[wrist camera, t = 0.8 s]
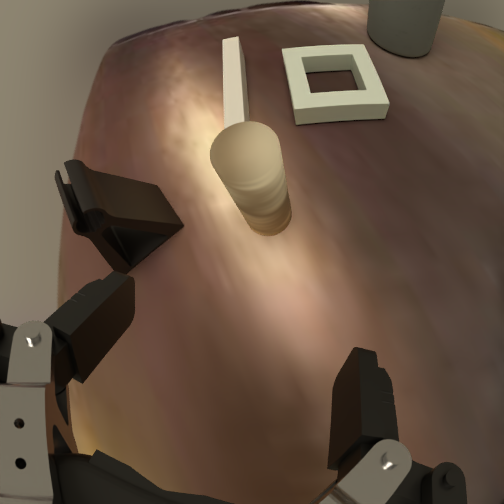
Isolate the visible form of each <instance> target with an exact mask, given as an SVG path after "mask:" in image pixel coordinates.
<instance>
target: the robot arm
mask: <svg viewBox="0 0 504 504" xmlns="http://www.w3.org/2000/svg"><path fill="white" fill-rule="evenodd" d="M134 314H135V281H134V278H133V277H131V276H128V275H125V274H123V273H120V272H118V271H113V272H112V273H110V274H109V275H108V276H107V277H106V278H105V279H103V280H101V279H98V280H95V281H93V282H91V283H88V284H86V285H85V286H84V287H83V288H82V289H80V290H79V291H78V293H76V294H75V295H73V296H72V297H71V299H70V300H68V301H67V302H65V303H64V304H63V305H62V306H61V307H60V308H59V309H58V310H56V311H55V312H54V313H53V314H52V315H51V316H50V317H49V318H48V319H46V321H44V322H41V321H29V322H26V323H24V324H22V325H21V326H19V327H14V326H10V325H6V324H3V323H1V320H0V504H233V503H229V502H225V501H222V500H218V499H215V498H211V497H208V496H204V495H194V494H186V493H178V492H171V491H166V490H162V489H160V488H159V487H157V486H156V485H154V484H153V483H152V482H150V481H149V480H147V479H146V478H145V477H143V476H142V475H141V474H139V473H138V472H137V471H135V470H134V469H133V468H131V467H130V466H128V465H126V464H124V463H122V462H120V461H118V460H116V459H114V458H112V457H110V456H108V455H106V454H104V453H103V452H101V451H99V450H97V449H96V451H95V453H94V454H93V456H91V455H86V454H79V453H78V449H77V445H76V442H75V439H74V436H73V431H72V423H71V413H70V400H69V387H68V383H69V382H70V380H71V379H72V378H73V379H75V380H77V381H78V382H80V383H82V384H83V383H84V381H85V380H86V379H87V378H88V376H89V375H90V374H91V373H92V371H93V370H94V369H95V368H96V366H97V365H98V364H99V363H100V361H101V360H102V359H103V358H104V356H105V355H106V354H107V353H108V351H109V350H110V349H111V348H112V347H113V345H114V344H115V343H116V342H117V340H118V339H119V338H120V337H121V336H122V334H123V333H124V332H125V331H126V330H127V328H128V327H129V326H130V324H131V323H132V320H133V318H134ZM327 469H331V470H338V477H337V479H336V480H335V481H333V482H332V483H331V484H330V485H329V486H328V487H327V488H326V489H325V490H324V491H323V492H322V493H320V494H319V495H318V496H317V497H316V498H315V499H314V500H312V501H311V502H310V503H309V504H467V494H466V483H465V477H464V474H463V472H462V470H461V469H460V468H459V467H458V466H457V465H455V464H453V463H450V462H444V463H441V464H439V465H438V466H437V467H435V468H434V469H433V468H430V467H427V466H425V465H422V464H419V463H417V462H415V461H413V460H412V459H411V455H410V452H409V451H408V449H407V448H406V447H405V446H404V445H403V444H401V443H400V442H399V438H398V428H397V419H396V410H395V405H394V395H393V388H392V381H391V379H390V377H389V375H388V374H387V372H386V370H385V369H384V368H379V367H378V362H377V355H376V352H375V351H371V350H367V349H363V348H358V347H354V348H353V349H352V351H351V353H350V354H349V356H348V358H347V360H346V361H345V363H344V365H343V367H342V368H341V370H340V372H339V373H338V375H337V377H336V379H335V382H334V386H333V392H332V412H331V429H330V443H329V456H328V467H327Z"/></svg>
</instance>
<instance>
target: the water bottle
mask: <svg viewBox="0 0 504 504" xmlns="http://www.w3.org/2000/svg"><path fill="white" fill-rule="evenodd" d="M444 2H445V0H369V11H368V21H367V31H368V33H369V36H370V37H371V38H372V40H373V41H374V42H375V43H376V44H378V45H379V46H381V47H382V48H384V49H386V50H387V51H390V52H392V53H395V54H398V55H401V56H406V57H419V56H423V55H425V54H427V53H428V52H429V51H430V49H431V46H432V43H433V40H434V37H435V34H436V30H437V27H438V24H439V20H440V17H441V13H442V9H443V6H444Z"/></svg>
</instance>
